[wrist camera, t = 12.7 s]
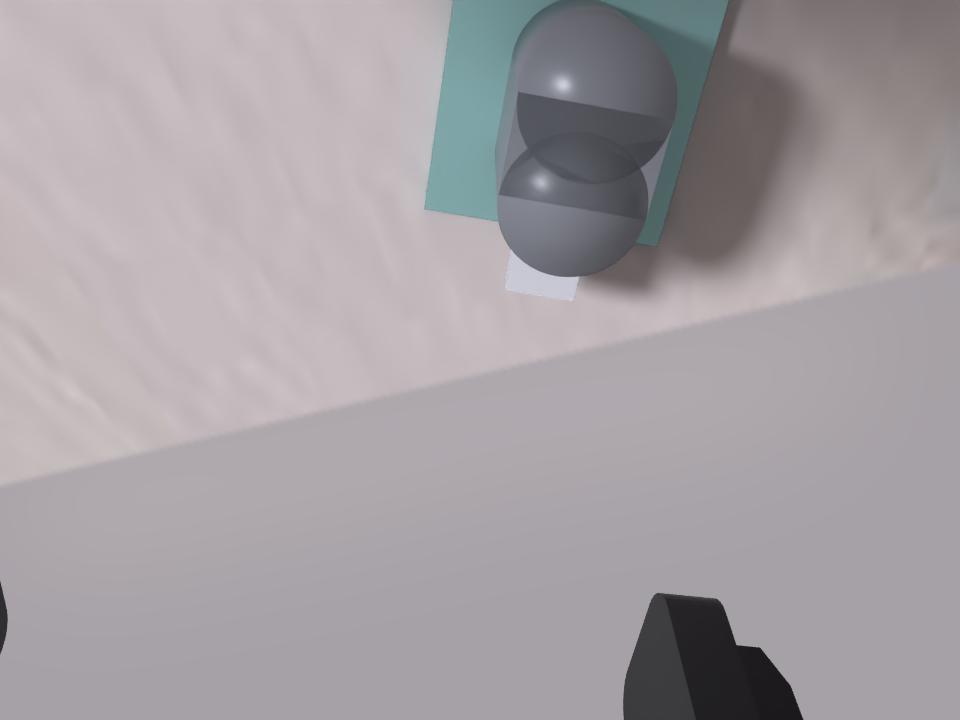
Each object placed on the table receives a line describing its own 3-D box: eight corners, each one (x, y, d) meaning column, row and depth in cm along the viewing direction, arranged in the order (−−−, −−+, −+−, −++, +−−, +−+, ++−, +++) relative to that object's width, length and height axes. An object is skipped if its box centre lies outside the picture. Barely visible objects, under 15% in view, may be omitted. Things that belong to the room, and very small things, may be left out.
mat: (461, -57, 27) (461, -57, 26) (725, -8, 28) (730, -6, 27) (425, 204, 31) (424, 209, 31) (654, 241, 32) (657, 246, 31)
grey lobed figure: (524, -15, 27) (534, 6, 22) (657, 10, 27) (698, 36, 22) (476, 248, 32) (475, 317, 26) (590, 267, 32) (611, 339, 27)
